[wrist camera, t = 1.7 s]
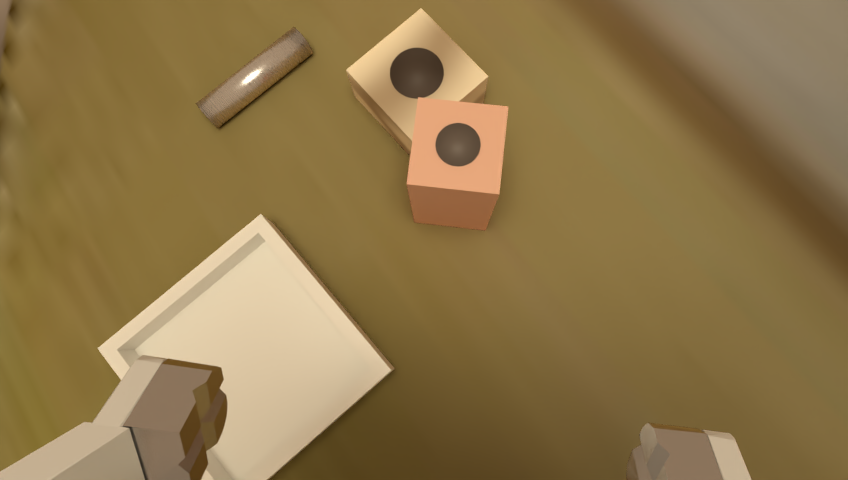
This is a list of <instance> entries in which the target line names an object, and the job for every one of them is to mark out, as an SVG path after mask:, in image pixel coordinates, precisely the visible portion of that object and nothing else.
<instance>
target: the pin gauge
mask: <svg viewBox="0 0 848 480" xmlns="http://www.w3.org/2000/svg"><path fill="white" fill-rule="evenodd" d="M312 53H313V51H312V49H311V47H310V45H309V44H308V42H307V41H306V40H305V38H304V37H303V36H302V35H301V33H300V32H299V31H298V30H297V29H296V28H294V27H293V28H291V29H290V30H289V31H288V32H286V33H285V34H284V35H283V36H281V37H280V38H279V39H277V40H276V41H275V42H274V43H272V44H271V45H270V46H269V47H267V48H266V49H265V50H263V51H262V52H261V53H260V54H258V55H257V56H256V57H254V58H253V59H252V60H251V61H249V62H248V63H247V64H246V65H244V66H243V67H242V68H240V69H239V70H238V71H237V72H235V73H234V74H233V75H232V76H230V77H229V78H228V79H226V80H225V81H224V82H223V83H221V84H220V85H219V86H217V87H216V88H215V89H214V90H212V91H211V92H210V93H209V94H207V95H206V96H205V97H203V98H202V99H201V100H200V101H198V102H197V103H196V104H197V106H198V107H199V108H200V109H201V111H202V112H203V113H204V114H205V115H206V116H207V118H208V119H209V120H210V121H211V122H212V123H213V124H214V125H215V126H216V127H217V128H219V127H220V126H221V125H223V124H224V123H225V122H226V121H228V120H229V119H230V118H231V117H233V116H234V115H235V114H237V113H238V112H239V111H240V110H242V109H243V108H244V107H245V106H247V105H248V104H249V103H250V102H252V101H253V100H254V99H255V98H257V97H258V96H259V95H261V94H262V93H263V92H264V91H266V90H267V89H268V88H269V87H271V86H272V85H273V84H274V83H276V82H277V81H278V80H279V79H281V78H282V77H283V76H285V75H286V74H287V73H288V72H290V71H291V70H292V69H293V68H295V67H296V66H297V65H298V64H300V63H301V62H302V61H303V60H305V59H306V58H307V57H308V56H310V55H311V54H312Z"/></svg>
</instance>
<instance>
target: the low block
mask: <svg viewBox="0 0 848 480" xmlns="http://www.w3.org/2000/svg"><path fill="white" fill-rule="evenodd" d="M346 71H347V74H348V77H349V80H350V83H351V86H352V89H353V92H354V95H355V97H356V98H357V99H358V100H359V102H360V103H361V104H362V105H363V106H364V107H365V108H366V109H367V110H368V111H369V112H370V113H371V115H372V116H373V117H374V118H375V119H376V120H377V121H378V122H379V123H380V124H381V125H382V126H383V127H384V129H385V130H386V131H387V132H388V133H389V134H390V135H391V136H392V137H393V138H394V139H395V140H396V142H397V143H398V144H399V145H400V146H401V147H402V148H403V149H404V150H405V151H406V152H407V153H408V155H409V156H410V155H411V147H412V139H413V132H414V124H415V116H416V109H417V101H418V97H421V98H430V99H440V100H450V101H459V102H469V103H479V104H482V103H484V97H485V92H486V86H487V81H488V76H487V75H486V74H485V73H484V72H483V71H482V70H481V69H480V68H479V67H478V66H477V65H476V64H475V62H474V61H473V60H472V59H471V58H470V57H469V56H468V55H467V54H466V53H465V52H464V51H463V50H462V49H461V48H460V47H459V46H458V45H457V44H456V43H455V42H454V41H453V40H452V39H451V38H450V37H449V36H448V35H447V34H446V33H445V32H444V31H443V30H442V29H441V28H440V27H439V26H438V25H437V24H436V23H435V22H434V21H433V20H432V19H431V18H430V17H429V16H428V15H427V13H426V12H425V11H424V10H423V9H422V8H421V9H420V10H418V11H417V12H416V13H415V14H413V15H412V16H411V17H410V18H409V19H407V20H406V21H405V22H404V23H403V24H401V25H400V26H399V27H398V28H396V29H395V30H394V31H393V32H392V33H390V34H389V35H388V36H387V37H386V38H384V39H383V40H382V41H381V42H379V43H378V44H377V45H376V46H375V47H373V48H372V49H371V50H370V51H369V52H367V53H366V54H365V55H364V56H362V57H361V58H360V59H359V60H358V61H356V62H355V63H354V64H353V65H352V66H350V67H349V68H348V69H347V70H346Z"/></svg>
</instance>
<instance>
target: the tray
mask: <svg viewBox="0 0 848 480" xmlns="http://www.w3.org/2000/svg"><path fill="white" fill-rule="evenodd" d="M98 350H99V351H100V352H101V354H102V355H103V356H104V358H105V359H106V360H107V362H108V363H109V364H110V366H111V367H112V368H113V370H114V371H115V373H116V374H117V375H118V377H119V378H120V379H121V380H122V379H123V377H124V376H125V374H126V373H127V371H128V370H129V368H130V367H131V365H132V364H133V362H134V361H135V360H136V359H138V358H139V357H141V356H142V355H146V356H153V357H160V358H167V359H174V360H180V361H187V362H193V363H199V364H206V365H212V366H218V367H221V368H222V373H223V378H224V380H223V382H222V384H221V386H220V389H221V390H222V391H223V392H224V393H225V394H226V396H227V403H228V405H227V417H226V421H225V425H224V429H223V432H222V434H221V436H220V439H219V441H218V443H217V444H216V445H214V446H213V447H212V448H210V449H209V450H207V451H206V454H207V459H208V465H207V468H206V470H205V472H204V474H203V476H202V479H201V480H269V479H270V478H271V477H272V476H274V475H275V474H276V473H277V472H278V471H279V470H280V469H281V468H283V467H284V466H285V465H286V464H287V463H288V462H289V461H291V460H292V459H293V458H294V457H295V456H296V455H297V454H299V453H300V452H301V451H302V450H303V449H304V448H305V447H306V446H308V445H309V444H310V443H311V442H312V441H313V440H314V439H316V438H317V437H318V436H319V435H320V434H321V433H322V432H324V431H325V430H326V429H327V428H328V427H329V426H330V425H331V424H333V423H334V422H335V421H336V420H337V419H338V418H339V417H341V416H342V415H343V414H344V413H345V412H346V411H347V410H349V409H350V408H351V407H352V406H353V405H354V404H355V403H357V402H358V401H359V400H360V399H361V398H362V397H363V396H364V395H366V394H367V393H368V392H369V391H370V390H371V389H372V388H374V387H375V386H376V385H377V384H378V383H379V382H380V381H382V380H383V379H384V378H385V377H386V376H387V375H388V374H389V373H391V372H392V371H393V370H394V369H395V368H394V367H393V366H392V365H391V363H390V362H389V361H388V360H387V359H386V357H385V356H384V355H383V354H382V353H381V351H380V350H379V349H378V348H377V347H376V346H375V344H374V343H373V342H372V341H371V340H370V338H369V337H368V336H367V335H366V334H365V332H364V331H363V330H362V329H361V328H360V326H359V325H358V324H357V323H356V322H355V320H354V319H353V318H352V317H351V316H350V314H349V313H348V312H347V311H346V310H345V308H344V307H343V306H342V305H341V304H340V302H339V301H338V300H337V299H336V298H335V297H334V295H333V294H332V293H331V292H330V291H329V289H328V288H327V287H326V286H325V285H324V283H323V282H322V281H321V280H320V279H319V277H318V276H317V275H316V274H315V273H314V271H313V270H312V269H311V268H310V267H309V265H308V264H307V263H306V262H305V261H304V259H303V258H302V257H301V256H300V255H299V253H298V252H297V251H296V250H295V249H294V247H293V246H292V245H291V244H290V243H289V242H288V240H287V239H286V238H285V237H284V236H283V234H282V233H281V232H280V231H279V230H278V228H277V227H276V226H275V225H274V224H273V223H272V222H271V221H270V220H268V219H267V218H266V217H264V216H263V215H262V214H260V215H259V216H258V217H257V218H255V219H254V220H253V221H252V222H250V223H249V224H248V225H247V226H246V227H244V228H243V229H242V230H241V231H240V232H238V233H237V234H236V235H235V236H233V237H232V238H231V239H230V240H229V241H227V242H226V243H225V244H224V245H223V246H221V247H220V248H219V249H218V250H216V251H215V252H214V253H213V254H212V255H210V256H209V257H208V258H207V259H206V260H204V261H203V262H202V263H201V264H199V265H198V266H197V267H196V268H195V269H193V270H192V271H191V272H190V273H189V274H187V275H186V276H185V277H184V278H182V279H181V280H180V281H179V282H178V283H176V284H175V285H174V286H173V287H172V288H170V289H169V290H168V291H167V292H165V293H164V294H163V295H162V296H161V297H159V298H158V299H157V300H156V301H155V302H153V303H152V304H151V305H150V306H148V307H147V308H146V309H145V310H144V311H142V312H141V313H140V314H139V315H138V316H136V317H135V318H134V319H133V320H131V321H130V322H129V323H128V324H127V325H125V326H124V327H123V328H122V329H121V330H119V331H118V332H117V333H116V334H114V335H113V336H112V337H111V338H110V339H108V340H107V341H106V342H105V343H104V344H102V345H101V346H100V347H99V348H98Z"/></svg>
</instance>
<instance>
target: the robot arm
mask: <svg viewBox="0 0 848 480" xmlns="http://www.w3.org/2000/svg"><path fill="white" fill-rule="evenodd" d="M223 380H224V378H223V373H222V368H221V367H218V366H212V365H206V364H199V363H193V362H187V361H180V360H174V359H167V358H160V357H153V356H146V355H142V356H141V357H139V358H138V359H136V360H135V361H134V362H133V364H132V365H131V367H130V368H129V370H128V371H127V373H126V374H125V376H124V377H123V379H122V380H121V381H120V383H119V384H118V386H117V387H116V389H115V390H114V392H113V393H112V395H111V396H110V397H109V399H108V400H107V402H106V403H105V405H104V406H103V408H102V409H101V411H100V412H99V414H98V415H97V416H96V418H95V419H94V421H93V422H92V423H91V422H83V423H82V424H80V425H78V426H77V427H75V428H73V429H72V430H70V431H68V432H66V433H65V434H63V435H61V436H60V437H58V438H56V439H55V440H53V441H51V442H50V443H48V444H46V445H44V446H43V447H41V448H39V449H38V450H36V451H34V452H33V453H31V454H29V455H28V456H26V457H24V458H22V459H21V460H19V461H17V462H16V463H14V464H12V465H11V466H9V467H7V468H6V469H4V470H2V471H0V480H201V479H202V476H203V474H204V472H205V470H206V468H207V465H208V459H207V454H206V451H207V450H209V449H210V448H212V447H213V446H214V445H216V444H217V443H218V441H219V439H220V436H221V434H222V432H223V429H224V425H225V421H226V417H227V405H228V403H227V396H226V394H225V393H224V392H223V391H222V390H221V389H220V386H221V384H222V382H223ZM639 436H640V440H641V444H642V445H640V446H638V447H636V448H635V449H633V450H632V452H631V455H630V457H629V460H628V464H627V473H626V479H627V480H751V477H750V475H749V472H748V470H747V467H746V465H745V462H744V460H743V458H742V455H741V453H740V450H739V448H738V445H737V443H736V440H735V438H734V437H733V436H732V435H731V434H730V433H724V432H716V431H709V430H700V429H697V428H688V427H680V426H672V425H663V424H655V423H647V424H646V425H644V426H643V428H642V430H641V432H640V434H639Z"/></svg>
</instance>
